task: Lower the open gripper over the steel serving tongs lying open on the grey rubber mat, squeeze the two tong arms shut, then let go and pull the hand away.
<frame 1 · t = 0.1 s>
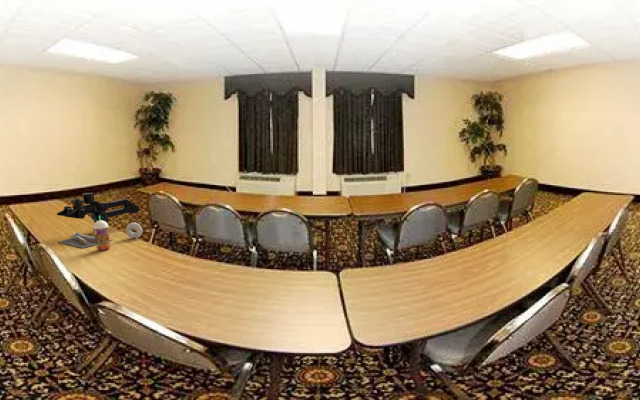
hand: (60, 215, 295), 17 cm above the table, tool horizontal, fingers open, 9 cm apart
tong moving arm: (81, 239, 292), point 2 cm above the table, hinge at -14.0°
rubber mat: (84, 241, 295), on the table
donut: (134, 238, 299), on the table
smoothie: (103, 249, 277), on the table
tong fixed arm: (77, 239, 301), resting on rubber mat
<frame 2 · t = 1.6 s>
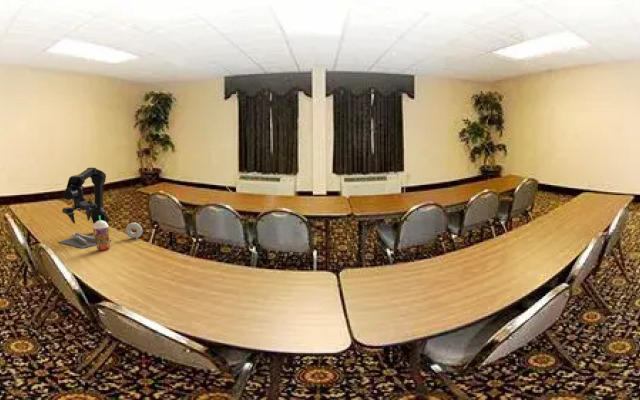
hand: (81, 221, 295), 12 cm above the table, tool pointing down, fingers open, 9 cm apart
nothing on the table moved.
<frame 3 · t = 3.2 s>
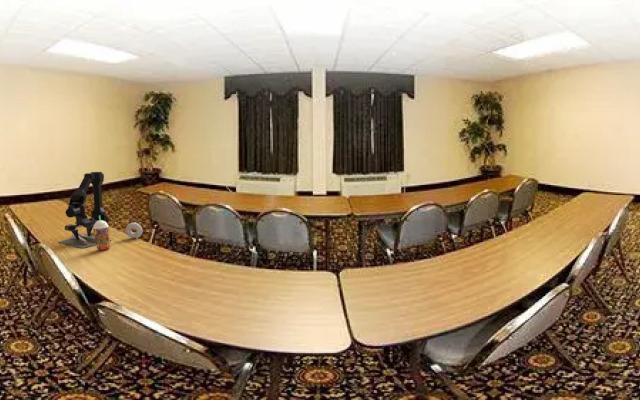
hand: (83, 238, 297), 1 cm above the table, tool pointing down, fingers open, 7 cm apart
tong moving arm: (81, 239, 292), point 2 cm above the table, hinge at -13.9°, touching gripper
everything else where it was.
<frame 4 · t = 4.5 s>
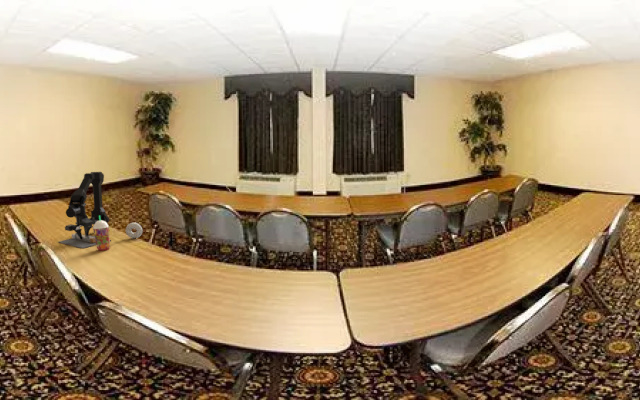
hand: (84, 238, 297), 1 cm above the table, tool pointing down, fingers open, 3 cm apart
tong moving arm: (85, 238, 294), point 2 cm above the table, hinge at 0.1°, touching gripper
everything else where it was.
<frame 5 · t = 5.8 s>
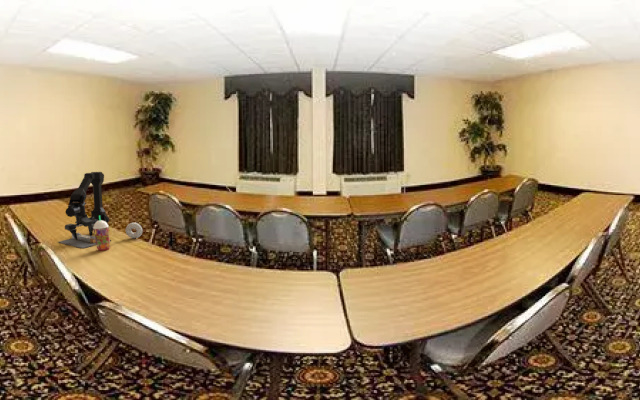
hand: (83, 237, 297), 2 cm above the table, tool pointing down, fingers open, 9 cm apart
tong moving arm: (85, 238, 294), point 2 cm above the table, hinge at 0.1°
everything else where it was.
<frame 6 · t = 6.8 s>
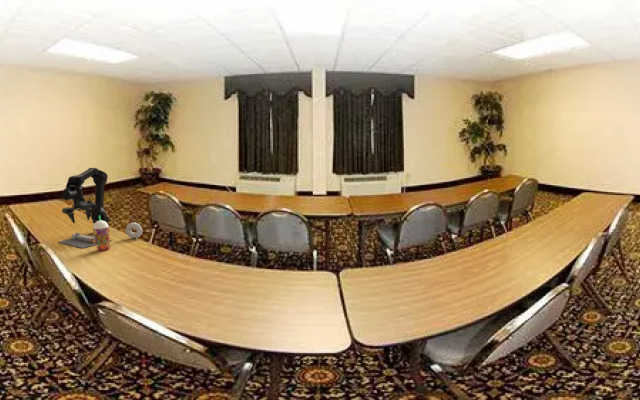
hand: (81, 221, 297), 12 cm above the table, tool pointing down, fingers open, 9 cm apart
nothing on the table moved.
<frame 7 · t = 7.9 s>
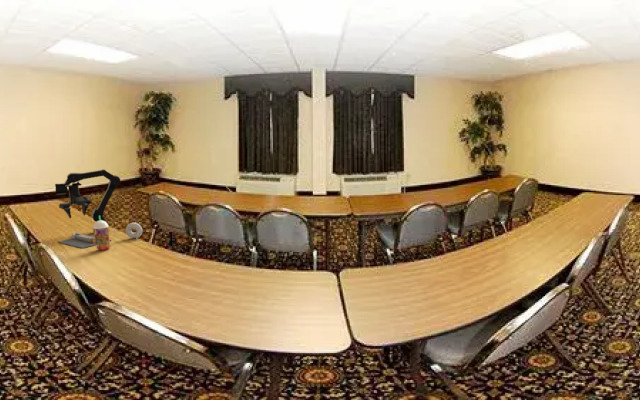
hand: (77, 216, 310), 12 cm above the table, tool pointing down, fingers open, 9 cm apart
nothing on the table moved.
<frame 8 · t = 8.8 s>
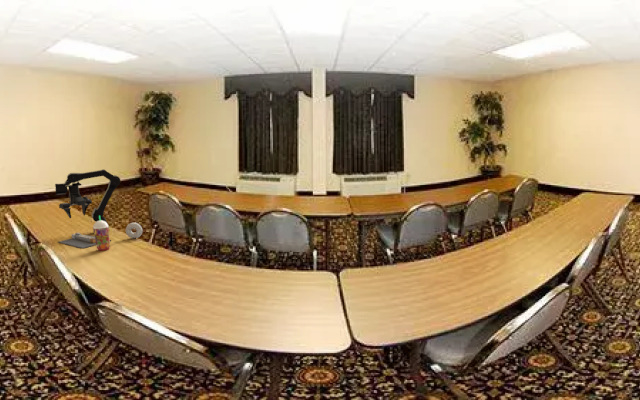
hand: (77, 216, 310), 12 cm above the table, tool pointing down, fingers open, 9 cm apart
nothing on the table moved.
at the end: tong moving arm at +0° (first picture: -14°); the gripper is holding nothing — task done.
